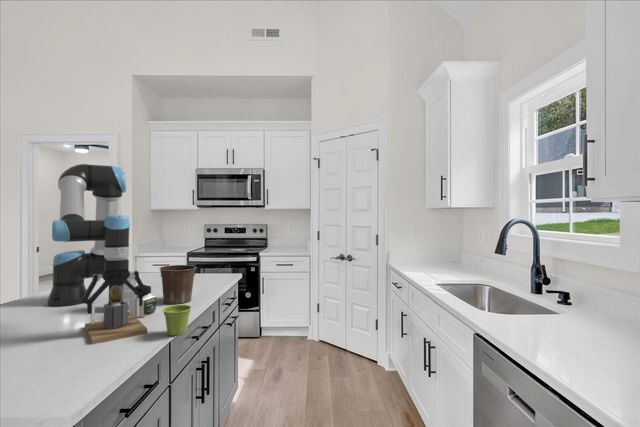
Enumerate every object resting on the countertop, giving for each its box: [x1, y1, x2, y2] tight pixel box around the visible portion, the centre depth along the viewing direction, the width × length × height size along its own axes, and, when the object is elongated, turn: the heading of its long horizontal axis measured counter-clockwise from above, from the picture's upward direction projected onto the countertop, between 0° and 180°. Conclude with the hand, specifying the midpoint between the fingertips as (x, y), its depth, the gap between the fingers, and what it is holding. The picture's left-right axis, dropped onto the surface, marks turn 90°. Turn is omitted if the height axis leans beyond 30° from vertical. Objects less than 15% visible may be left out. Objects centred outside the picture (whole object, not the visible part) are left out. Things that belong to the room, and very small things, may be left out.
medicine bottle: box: [128, 284, 157, 318], centre depth 139 cm, size 7×7×12 cm
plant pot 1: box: [159, 264, 198, 305], centre depth 161 cm, size 16×16×16 cm
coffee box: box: [108, 270, 137, 311], centre depth 147 cm, size 9×6×16 cm
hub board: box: [84, 302, 148, 345], centre depth 120 cm, size 20×16×10 cm
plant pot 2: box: [161, 304, 193, 337], centre depth 118 cm, size 9×9×9 cm
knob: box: [103, 302, 129, 327], centre depth 120 cm, size 7×8×7 cm
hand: (115, 319), depth 120 cm, fingers open, 13 cm apart
